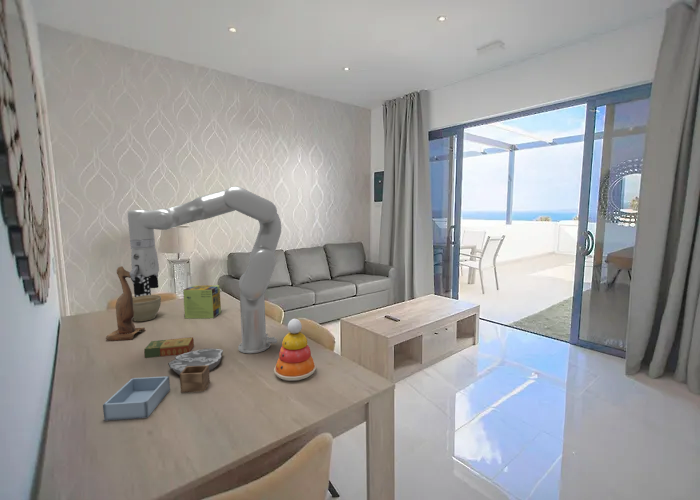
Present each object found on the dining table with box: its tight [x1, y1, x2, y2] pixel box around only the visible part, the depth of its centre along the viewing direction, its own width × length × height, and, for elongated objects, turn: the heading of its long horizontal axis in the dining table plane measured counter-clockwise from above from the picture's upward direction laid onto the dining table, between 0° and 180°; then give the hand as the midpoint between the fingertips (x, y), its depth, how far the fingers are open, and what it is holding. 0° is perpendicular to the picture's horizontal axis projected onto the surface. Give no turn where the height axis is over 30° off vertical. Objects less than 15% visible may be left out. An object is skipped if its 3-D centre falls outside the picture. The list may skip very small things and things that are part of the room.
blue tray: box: [102, 375, 171, 421], centre depth 99 cm, size 11×14×4 cm
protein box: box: [182, 284, 222, 320], centre depth 181 cm, size 10×15×16 cm
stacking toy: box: [273, 318, 317, 382], centre depth 116 cm, size 14×14×20 cm
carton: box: [143, 337, 195, 359], centre depth 136 cm, size 8×16×4 cm, turn 103°
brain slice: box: [167, 348, 224, 376], centre depth 122 cm, size 20×17×3 cm
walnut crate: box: [179, 365, 211, 393], centre depth 108 cm, size 7×6×6 cm
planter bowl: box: [132, 294, 162, 322], centre depth 177 cm, size 16×16×11 cm
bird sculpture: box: [105, 265, 146, 342], centre depth 151 cm, size 11×12×32 cm
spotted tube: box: [132, 276, 152, 297], centre depth 199 cm, size 8×8×20 cm
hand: (147, 291), depth 124 cm, fingers open, 9 cm apart
